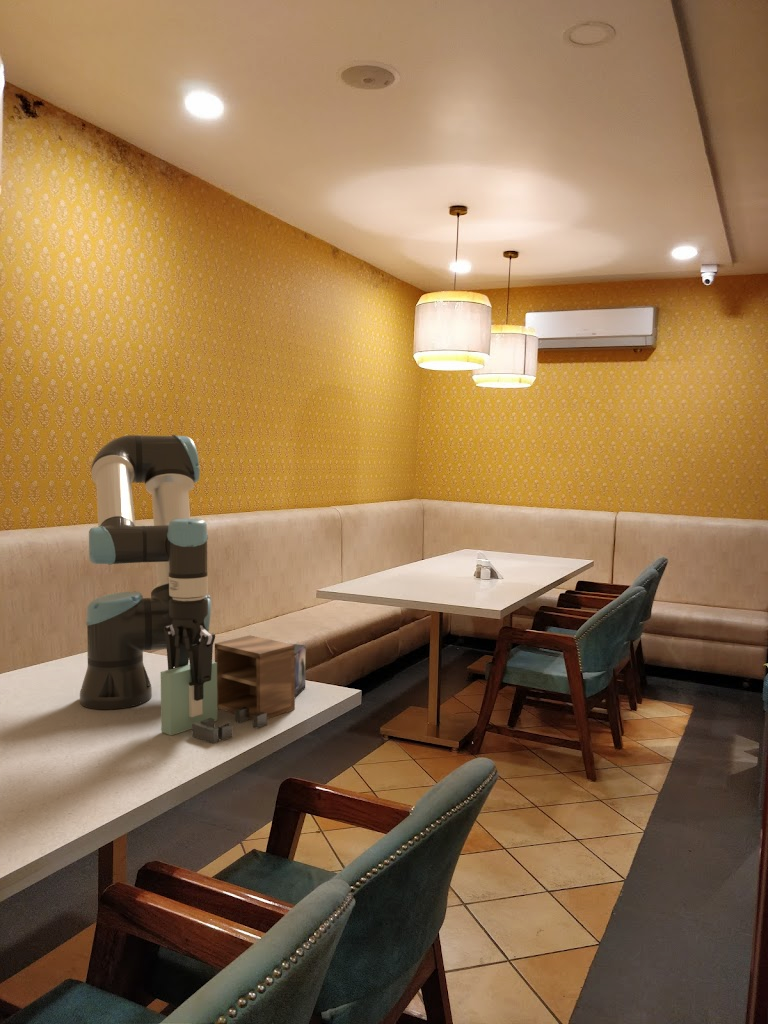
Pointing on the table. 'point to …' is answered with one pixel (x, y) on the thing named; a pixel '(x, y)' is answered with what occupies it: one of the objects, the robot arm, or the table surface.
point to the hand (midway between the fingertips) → (189, 713)
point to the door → (184, 699)
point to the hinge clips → (225, 726)
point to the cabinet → (255, 675)
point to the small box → (300, 668)
